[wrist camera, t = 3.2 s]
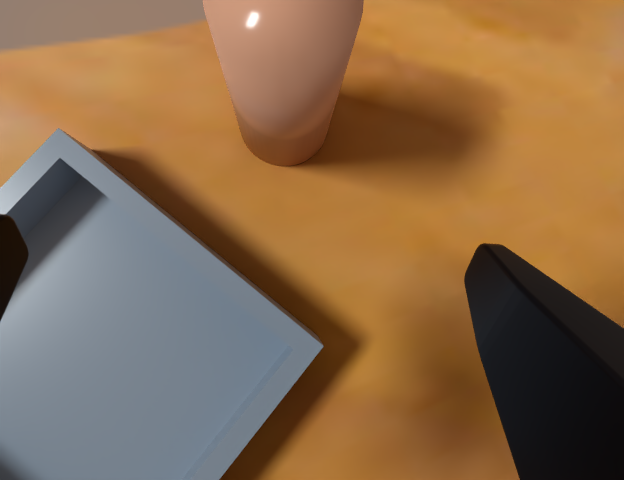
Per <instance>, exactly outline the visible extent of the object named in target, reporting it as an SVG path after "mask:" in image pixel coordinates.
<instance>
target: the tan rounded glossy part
mask: <svg viewBox="0 0 624 480" xmlns="http://www.w3.org/2000/svg"><path fill="white" fill-rule="evenodd" d="M203 6H204V11H205V14H206V18H207V21H208V24H209V28H210V31H211V34H212V38H213V41H214V44H215V48H216V51H217V54H218V58H219V61H220V64H221V68H222V71H223V75H224V78H225V81H226V85H227V88H228V91H229V95H230V98H231V101H232V105H233V108H234V111H235V115H236V118H237V121H238V125H239V128H240V132H241V135H242V138H243V140H244V142H245V144H246V146H247V147H248V148H249V150H250V151H251V152H252V153H253V154H254V155H255V156H257V157H258V158H259V159H261V160H263V161H265V162H267V163H269V164H273V165H277V166H292V165H297V164H300V163H302V162H305V161H306V160H308V159H310V158H311V157H312V156H314V155H315V154H316V153H317V152H318V151H319V149H320V148H321V146H322V145H323V143H324V141H325V138H326V135H327V132H328V128H329V125H330V122H331V118H332V115H333V112H334V108H335V105H336V102H337V98H338V95H339V92H340V88H341V85H342V82H343V78H344V75H345V71H346V68H347V65H348V61H349V58H350V55H351V51H352V48H353V45H354V41H355V38H356V35H357V31H358V28H359V25H360V21H361V17H362V13H363V0H203Z"/></svg>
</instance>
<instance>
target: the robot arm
mask: <svg viewBox="0 0 624 480" xmlns="http://www.w3.org/2000/svg"><path fill="white" fill-rule="evenodd" d="M28 256H29V251H28V247H27V245H26V243H25V241H24V239H23V237H22V235H21V233H20V231H19V229H18V227H17V225H16V223H15V221H14V219H13V218H12V217H10V216H9V215H6V214H0V321H1V319H2V317H3V315H4V313H5V310H6V308H7V306H8V304H9V301H10V299H11V297H12V295H13V292H14V290H15V288H16V286H17V283H18V281H19V279H20V277H21V274H22V272H23V270H24V268H25V265H26V263H27V261H28ZM464 282H465V288H466V293H467V298H468V303H469V308H470V313H471V318H472V323H473V328H474V333H475V338H476V342H477V347H478V351H479V354H480V357H481V361H482V364H483V367H484V370H485V373H486V376H487V379H488V382H489V386H490V389H491V392H492V395H493V398H494V401H495V404H496V407H497V410H498V413H499V416H500V420H501V423H502V426H503V429H504V432H505V435H506V438H507V441H508V444H509V447H510V450H511V454H512V457H513V460H514V463H515V466H516V469H517V472H518V475H519V478H520V480H624V328H622V327H621V326H619V325H618V324H616V323H615V322H614V321H612V320H611V319H609V318H608V317H606V316H605V315H603V314H602V313H600V312H599V311H598V310H596V309H595V308H593V307H592V306H590V305H589V304H587V303H586V302H585V301H583V300H582V299H580V298H579V297H577V296H576V295H574V294H573V293H571V292H570V291H569V290H567V289H566V288H564V287H563V286H561V285H560V284H558V283H557V282H556V281H554V280H553V279H551V278H550V277H548V276H547V275H545V274H544V273H542V272H541V271H540V270H538V269H537V268H535V267H534V266H532V265H531V264H529V263H528V262H527V261H525V260H524V259H522V258H521V257H519V256H518V255H516V254H515V253H513V252H512V251H511V250H509V249H508V248H506V247H505V246H503V245H500V244H486V243H484V244H481V245H479V246H478V248H477V249H476V251H475V253H474V255H473V258H472V260H471V262H470V264H469V266H468V268H467V270H466V273H465V278H464Z"/></svg>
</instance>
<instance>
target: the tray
mask: <svg viewBox="0 0 624 480" xmlns="http://www.w3.org/2000/svg"><path fill="white" fill-rule="evenodd" d="M0 214H6V215H9V216H10V217H12V218H13V219H14V221H15V223H16V225H17V227H18V229H19V231H20V233H21V235H22V237H23V239H24V241H25V243H26V245H27V247H28V251H29V256H28V261H27V263H26V265H25V268H24V270H23V272H22V274H21V277H20V279H19V281H18V283H17V286H16V288H15V290H14V292H13V295H12V297H11V299H10V301H9V304H8V306H7V308H6V310H5V313H4V315H3V317H2V319H1V321H0V480H219V479H220V478H221V477H222V475H223V474H224V473H225V472H226V470H227V469H228V468H229V466H230V465H231V464H232V463H233V461H234V460H235V459H236V458H237V456H238V455H239V454H240V452H241V451H242V450H243V449H244V447H245V446H246V445H247V443H248V442H249V441H250V440H251V438H252V437H253V436H254V435H255V433H256V432H257V431H258V429H259V428H260V427H261V426H262V424H263V423H264V422H265V421H266V419H267V418H268V417H269V415H270V414H271V413H272V412H273V410H274V409H275V408H276V406H277V405H278V404H279V403H280V401H281V400H282V399H283V398H284V396H285V395H286V394H287V392H288V391H289V390H290V389H291V387H292V386H293V385H294V383H295V382H296V381H297V380H298V378H299V377H300V376H301V375H302V373H303V372H304V371H305V369H306V368H307V367H308V366H309V364H310V363H311V362H312V361H313V359H314V358H315V357H316V355H317V354H318V353H319V352H320V350H321V349H322V348H323V344H322V342H321V340H320V339H319V337H318V336H317V335H316V334H315V333H314V332H312V331H311V330H310V329H309V328H307V327H306V326H305V325H304V324H303V323H301V322H300V321H299V320H298V319H297V318H295V317H294V316H293V315H292V314H290V313H289V312H288V311H287V310H286V309H284V308H283V307H282V306H281V305H280V304H278V303H277V302H276V301H275V300H273V299H272V298H271V297H270V296H269V295H267V294H266V293H265V292H264V291H262V290H261V289H260V288H259V287H258V286H256V285H255V284H254V283H253V282H252V281H250V280H249V279H248V278H247V277H245V276H244V275H243V274H242V273H241V272H239V271H238V270H237V269H236V268H234V267H233V266H232V265H231V264H230V263H228V262H227V261H226V260H225V259H224V258H222V257H221V256H220V255H219V254H217V253H216V252H215V251H214V250H213V249H211V248H210V247H209V246H208V245H206V244H205V243H204V242H203V241H202V240H200V239H199V238H198V237H197V236H196V235H194V234H193V233H192V232H191V231H189V230H188V229H187V228H186V227H185V226H183V225H182V224H181V223H180V222H179V221H177V220H176V219H175V218H174V217H172V216H171V215H170V214H169V213H168V212H166V211H165V210H164V209H163V208H161V207H160V206H159V205H158V204H157V203H155V202H154V201H153V200H152V199H151V198H149V197H148V196H147V195H146V194H144V193H143V192H142V191H141V190H140V189H138V188H137V187H136V186H135V185H133V184H132V183H131V182H130V181H129V180H127V179H126V178H125V177H124V176H123V175H121V174H120V173H119V172H118V171H116V170H115V169H114V168H113V167H112V166H110V165H109V164H108V163H107V162H105V161H104V160H103V159H102V158H101V157H99V156H98V155H97V154H96V153H95V152H93V151H92V150H91V149H89V148H88V147H86V146H85V145H83V144H82V143H80V142H79V141H77V140H76V139H74V138H73V137H71V136H70V135H68V134H67V133H65V132H64V131H62V130H61V129H59V128H58V129H57V130H56V131H55V132H54V133H53V134H52V135H51V136H50V137H49V138H48V139H47V140H46V142H45V143H44V144H43V145H42V146H41V147H40V148H39V149H38V150H37V151H36V152H35V153H34V154H33V155H32V156H31V157H30V158H29V159H28V160H27V161H26V162H25V163H24V164H23V165H22V166H21V167H20V168H19V169H18V170H17V172H16V173H15V174H14V175H13V176H12V177H11V178H10V179H9V180H8V181H7V182H6V183H5V184H4V185H3V186H2V187H1V188H0Z"/></svg>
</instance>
